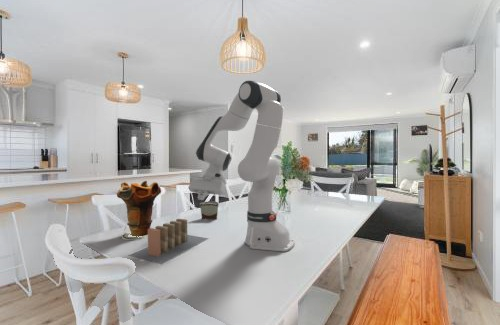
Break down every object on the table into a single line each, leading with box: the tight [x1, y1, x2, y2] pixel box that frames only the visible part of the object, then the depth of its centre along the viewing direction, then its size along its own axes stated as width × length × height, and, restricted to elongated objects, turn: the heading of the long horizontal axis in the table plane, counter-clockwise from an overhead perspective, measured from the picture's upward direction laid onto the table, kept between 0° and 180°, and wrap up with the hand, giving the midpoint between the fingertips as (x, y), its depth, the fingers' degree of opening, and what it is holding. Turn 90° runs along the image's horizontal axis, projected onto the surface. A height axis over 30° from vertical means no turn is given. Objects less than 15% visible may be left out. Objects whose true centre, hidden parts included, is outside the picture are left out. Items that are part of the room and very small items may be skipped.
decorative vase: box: [116, 180, 162, 241], centre depth 124 cm, size 21×23×28 cm
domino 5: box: [175, 218, 189, 243], centre depth 110 cm, size 2×5×10 cm, turn 64°
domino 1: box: [147, 227, 161, 256], centre depth 96 cm, size 2×5×10 cm, turn 64°
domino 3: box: [162, 222, 175, 249], centre depth 103 cm, size 2×5×10 cm, turn 64°
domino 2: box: [155, 225, 168, 253], centre depth 100 cm, size 2×5×10 cm, turn 64°
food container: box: [199, 201, 220, 220], centre depth 153 cm, size 12×6×10 cm, turn 84°
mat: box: [128, 234, 210, 265], centre depth 105 cm, size 18×29×1 cm, turn 154°
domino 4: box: [169, 220, 182, 246], centre depth 107 cm, size 2×5×10 cm, turn 64°
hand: (200, 199), depth 123 cm, fingers closed
